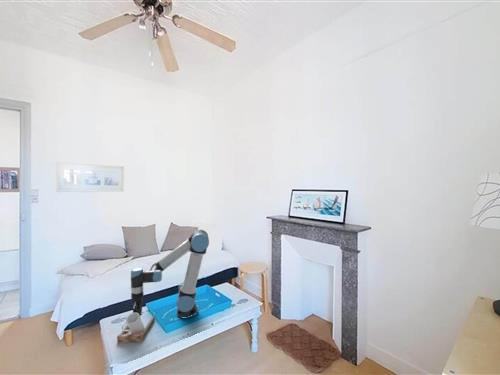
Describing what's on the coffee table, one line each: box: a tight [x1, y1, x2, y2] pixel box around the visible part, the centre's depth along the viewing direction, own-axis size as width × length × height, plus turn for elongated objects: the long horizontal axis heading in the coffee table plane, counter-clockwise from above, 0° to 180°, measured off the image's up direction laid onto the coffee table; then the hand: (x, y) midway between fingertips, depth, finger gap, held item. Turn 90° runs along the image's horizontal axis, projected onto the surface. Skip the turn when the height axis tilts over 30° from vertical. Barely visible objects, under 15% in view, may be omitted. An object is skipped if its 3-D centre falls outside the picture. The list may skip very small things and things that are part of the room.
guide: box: [116, 316, 156, 344], centre depth 169 cm, size 15×24×4 cm, turn 2°
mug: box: [121, 312, 145, 334], centre depth 164 cm, size 12×8×12 cm
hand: (138, 325), depth 172 cm, fingers closed
